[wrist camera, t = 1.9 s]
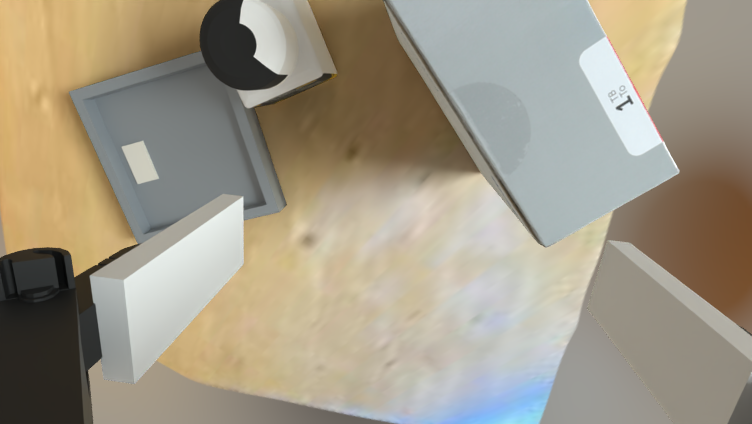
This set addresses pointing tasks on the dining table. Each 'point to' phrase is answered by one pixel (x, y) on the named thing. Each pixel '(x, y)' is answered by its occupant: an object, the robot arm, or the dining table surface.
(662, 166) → the hard drive box
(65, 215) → the dining table surface
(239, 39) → the medicine bottle
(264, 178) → the tray
